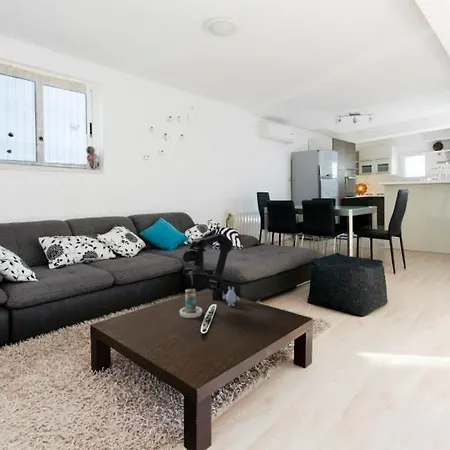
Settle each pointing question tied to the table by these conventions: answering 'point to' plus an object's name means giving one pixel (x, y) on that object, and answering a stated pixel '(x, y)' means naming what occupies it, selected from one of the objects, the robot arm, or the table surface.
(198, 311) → the ceramic dish
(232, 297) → the toy figure
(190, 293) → the disc
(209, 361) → the table surface
